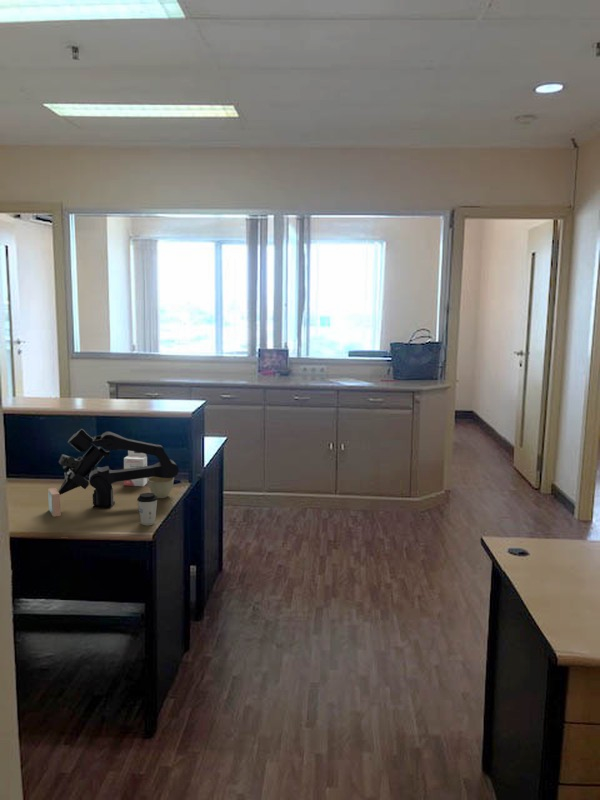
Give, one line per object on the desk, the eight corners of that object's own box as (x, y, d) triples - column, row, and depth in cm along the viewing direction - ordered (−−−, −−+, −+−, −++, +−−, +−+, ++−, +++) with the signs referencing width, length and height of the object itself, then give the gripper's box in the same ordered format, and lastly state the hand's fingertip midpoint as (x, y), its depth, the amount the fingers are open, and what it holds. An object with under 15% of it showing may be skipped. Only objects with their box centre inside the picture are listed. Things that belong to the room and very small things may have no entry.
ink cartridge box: (123, 485, 252) (122, 451, 249) (128, 482, 256) (127, 448, 254) (143, 486, 251) (143, 451, 249) (148, 483, 256) (147, 449, 253)
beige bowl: (171, 500, 233) (171, 482, 232) (145, 500, 233) (144, 482, 232) (176, 492, 243) (176, 475, 242) (151, 492, 243) (151, 475, 242)
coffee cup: (160, 519, 212) (159, 491, 210) (156, 526, 205) (155, 497, 203) (140, 519, 212) (139, 491, 210) (135, 526, 205) (134, 497, 203)
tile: (56, 509, 221) (55, 487, 220) (60, 515, 215) (59, 493, 213) (48, 510, 220) (47, 488, 219) (52, 516, 213) (51, 494, 212)
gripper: (67, 441, 226) (37, 474, 222) (77, 452, 210) (44, 487, 206) (90, 460, 231) (60, 492, 227) (101, 471, 215) (70, 506, 211)
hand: (58, 493), depth 217 cm, fingers closed
